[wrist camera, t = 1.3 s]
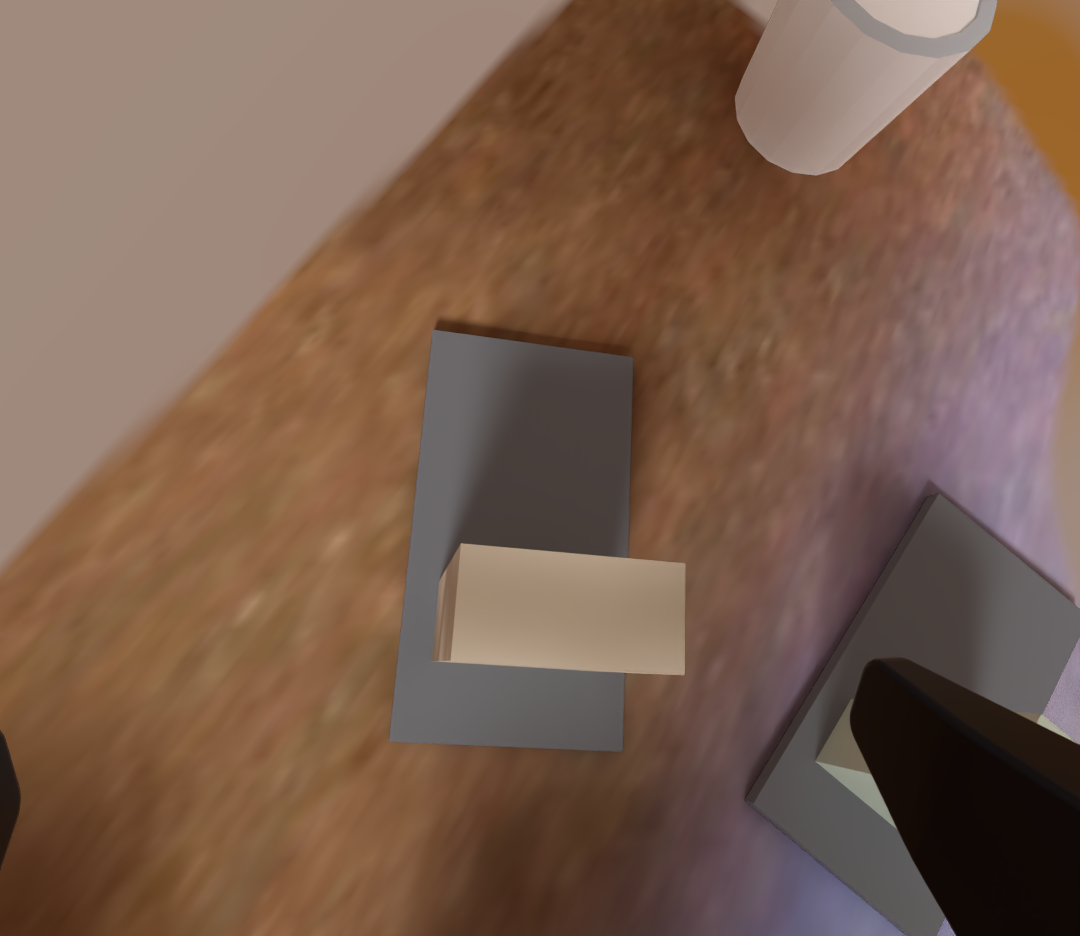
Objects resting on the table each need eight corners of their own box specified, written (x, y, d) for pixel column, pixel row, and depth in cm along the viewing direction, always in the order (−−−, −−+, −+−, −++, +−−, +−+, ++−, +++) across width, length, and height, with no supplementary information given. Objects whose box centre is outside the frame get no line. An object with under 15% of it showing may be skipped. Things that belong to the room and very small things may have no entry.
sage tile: (937, 862, 24) (1173, 949, 16) (815, 761, 24) (998, 803, 16) (970, 794, 24) (1211, 849, 17) (852, 696, 24) (1043, 710, 17)
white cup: (830, 219, 30) (955, 92, 23) (691, 122, 30) (776, -33, 23) (895, 111, 32) (1027, -33, 25) (766, 20, 32) (863, -148, 25)
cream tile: (593, 671, 23) (684, 675, 16) (431, 661, 22) (450, 661, 15) (596, 590, 24) (685, 559, 17) (439, 577, 23) (461, 538, 16)
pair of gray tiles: (1056, 436, 29) (1069, 431, 29) (1108, 951, 24) (1125, 958, 24) (432, 330, 25) (433, 323, 25) (347, 919, 21) (345, 926, 20)
